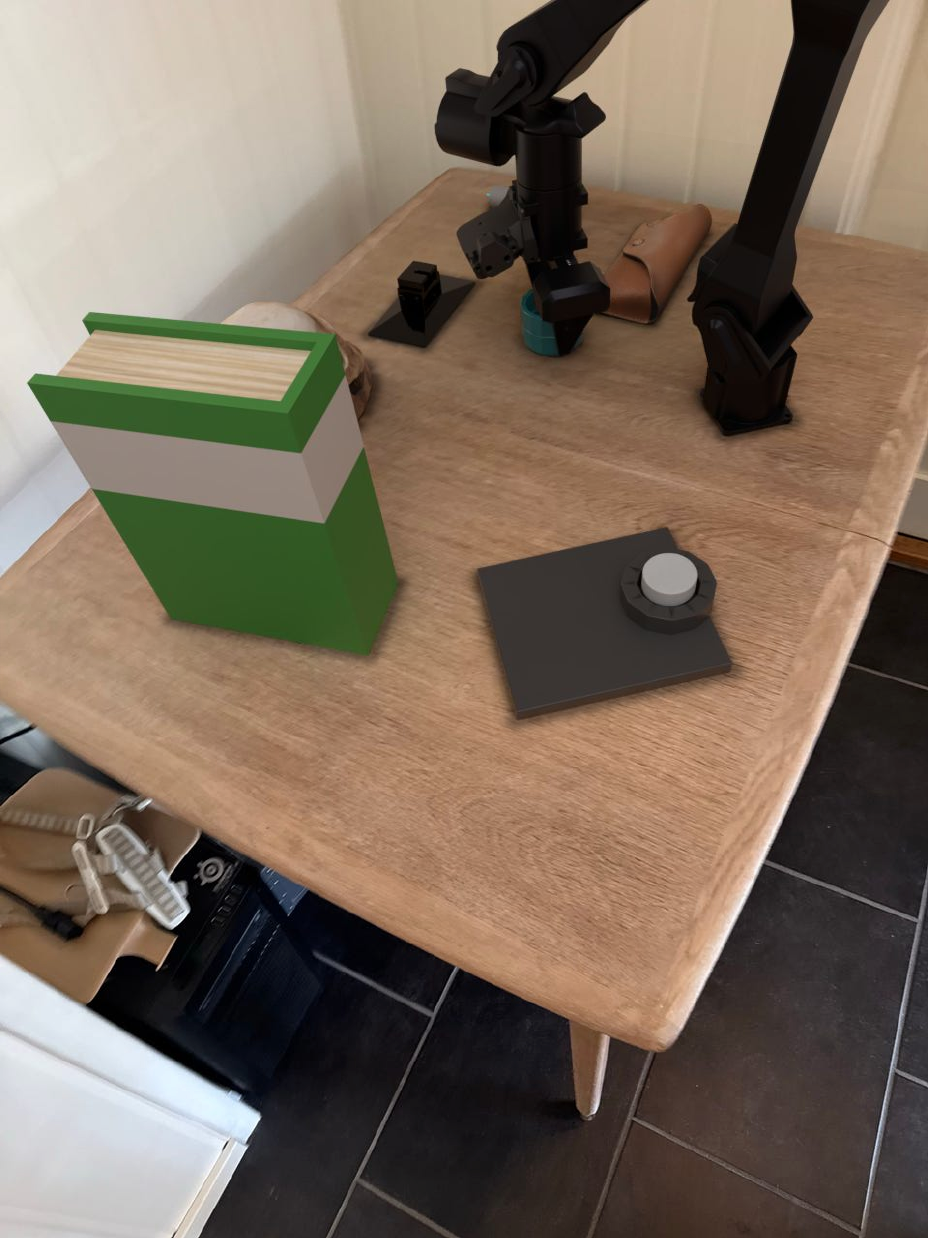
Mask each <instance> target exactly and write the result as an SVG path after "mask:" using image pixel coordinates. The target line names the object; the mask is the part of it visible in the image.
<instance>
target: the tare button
mask: <svg viewBox="0 0 928 1238" xmlns="http://www.w3.org/2000/svg"><path fill="white" fill-rule="evenodd" d="M696 582H697V570H696V567H695V566H694V564H693V563H692V562H691V561H690V560H689V559H687V558H686V557H684V556H682V555H679V554H674V553H663V554H659V555H656V556H654V557H652V558H650V559H649V560H648V561H647V562H646V563H645V565H644V567H643V570H642V581H641V587H642V591H643V593H644V594H645V596H646V597H647V598H648V599H649V600H650V601H652V602H654V603H656V604H658V605H662V606H678V605H681V604H683V603H685V602H687V601H688V600H689V599H690V598H691V597H692V596H693V594H694V592H695V588H696Z"/></svg>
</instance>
